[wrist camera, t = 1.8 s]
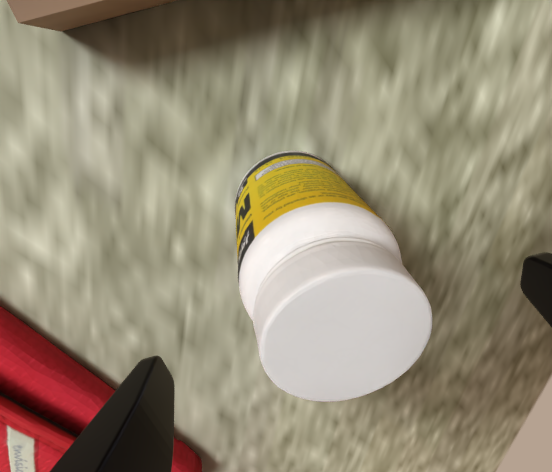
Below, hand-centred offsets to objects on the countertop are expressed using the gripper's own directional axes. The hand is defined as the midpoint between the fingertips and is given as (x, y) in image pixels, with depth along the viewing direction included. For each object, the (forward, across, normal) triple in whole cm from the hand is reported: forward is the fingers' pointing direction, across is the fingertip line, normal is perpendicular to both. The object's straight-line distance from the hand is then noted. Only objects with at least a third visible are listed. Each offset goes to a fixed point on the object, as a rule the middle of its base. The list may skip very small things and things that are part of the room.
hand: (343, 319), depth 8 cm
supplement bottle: (+8, 0, 0) cm, 8 cm away
